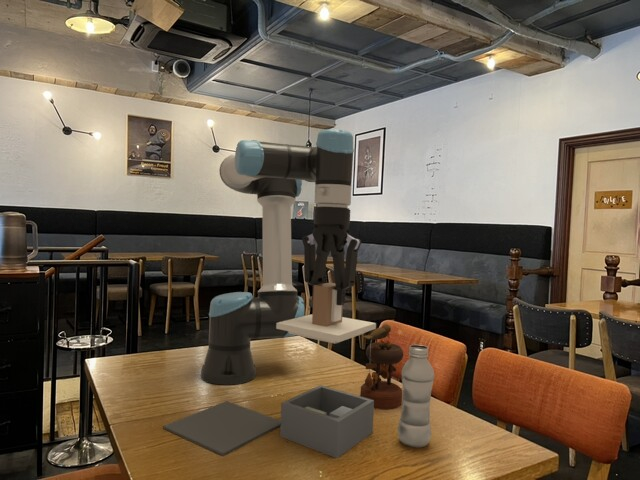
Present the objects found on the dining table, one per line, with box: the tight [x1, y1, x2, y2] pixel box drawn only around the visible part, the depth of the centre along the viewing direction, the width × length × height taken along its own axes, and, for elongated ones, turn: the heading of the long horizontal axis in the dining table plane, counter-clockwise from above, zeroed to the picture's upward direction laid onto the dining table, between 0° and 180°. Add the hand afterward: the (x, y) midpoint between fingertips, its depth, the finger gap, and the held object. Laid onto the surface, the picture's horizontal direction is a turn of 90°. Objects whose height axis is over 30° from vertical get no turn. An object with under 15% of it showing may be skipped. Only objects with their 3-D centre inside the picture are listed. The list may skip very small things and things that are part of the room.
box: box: [279, 384, 375, 459], centre depth 96 cm, size 14×14×7 cm
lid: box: [276, 282, 377, 345], centre depth 96 cm, size 15×15×10 cm
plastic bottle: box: [397, 344, 435, 448], centre depth 94 cm, size 6×7×20 cm
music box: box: [359, 323, 404, 410], centre depth 117 cm, size 15×11×20 cm
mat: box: [162, 400, 281, 457], centre depth 98 cm, size 18×18×1 cm
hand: (327, 318), depth 96 cm, fingers closed on lid, 3 cm apart
